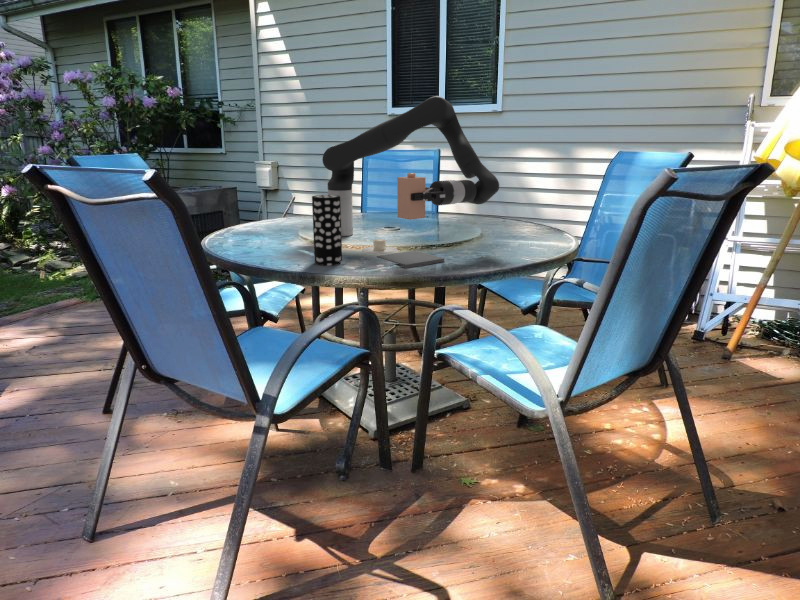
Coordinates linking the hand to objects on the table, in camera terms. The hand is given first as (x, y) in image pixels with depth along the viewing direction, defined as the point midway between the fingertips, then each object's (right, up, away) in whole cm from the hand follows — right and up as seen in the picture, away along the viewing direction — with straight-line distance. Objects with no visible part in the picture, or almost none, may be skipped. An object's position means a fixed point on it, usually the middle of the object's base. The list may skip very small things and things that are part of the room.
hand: (404, 196), depth 167 cm
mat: (+2, -19, +7) cm, 20 cm away
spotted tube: (-23, -20, +4) cm, 31 cm away
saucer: (-8, -15, +18) cm, 25 cm away
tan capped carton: (+2, -6, +3) cm, 7 cm away
